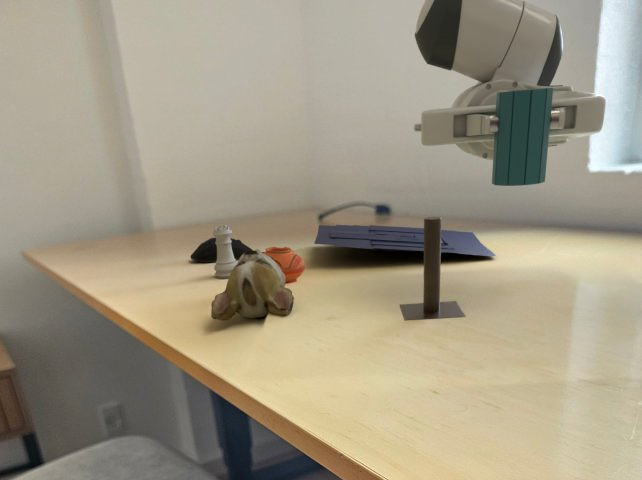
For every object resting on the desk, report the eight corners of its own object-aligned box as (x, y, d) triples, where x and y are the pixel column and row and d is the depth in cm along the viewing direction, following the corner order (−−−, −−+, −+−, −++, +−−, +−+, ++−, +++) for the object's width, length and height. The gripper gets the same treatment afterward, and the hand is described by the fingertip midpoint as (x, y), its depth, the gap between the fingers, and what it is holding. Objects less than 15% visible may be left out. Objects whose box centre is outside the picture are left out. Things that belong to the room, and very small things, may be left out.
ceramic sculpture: (294, 234, 90) (287, 263, 77) (300, 296, 94) (294, 333, 81) (217, 240, 90) (198, 270, 78) (227, 301, 95) (210, 339, 82)
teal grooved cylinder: (536, 178, 74) (543, 88, 70) (550, 183, 70) (559, 87, 65) (488, 182, 75) (492, 92, 71) (498, 187, 70) (504, 91, 66)
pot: (260, 280, 104) (266, 237, 101) (307, 292, 103) (314, 249, 100) (241, 291, 98) (247, 245, 94) (290, 304, 96) (298, 258, 93)
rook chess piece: (225, 272, 114) (219, 224, 110) (246, 273, 112) (240, 224, 108) (209, 278, 111) (202, 228, 107) (230, 279, 109) (224, 229, 105)
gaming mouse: (269, 257, 123) (267, 235, 122) (190, 264, 122) (187, 242, 120) (267, 251, 129) (265, 230, 127) (191, 258, 128) (188, 237, 126)
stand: (456, 312, 82) (459, 211, 76) (465, 329, 76) (469, 220, 70) (399, 316, 82) (398, 215, 77) (404, 332, 76) (404, 225, 71)
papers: (318, 237, 130) (319, 218, 129) (470, 246, 129) (473, 227, 128) (312, 263, 109) (314, 240, 107) (494, 273, 108) (498, 250, 106)
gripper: (411, 98, 80) (425, 96, 68) (583, 84, 79) (628, 79, 67) (411, 155, 83) (424, 162, 71) (577, 142, 82) (619, 147, 69)
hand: (524, 122), depth 69 cm, fingers closed on teal grooved cylinder, 5 cm apart
